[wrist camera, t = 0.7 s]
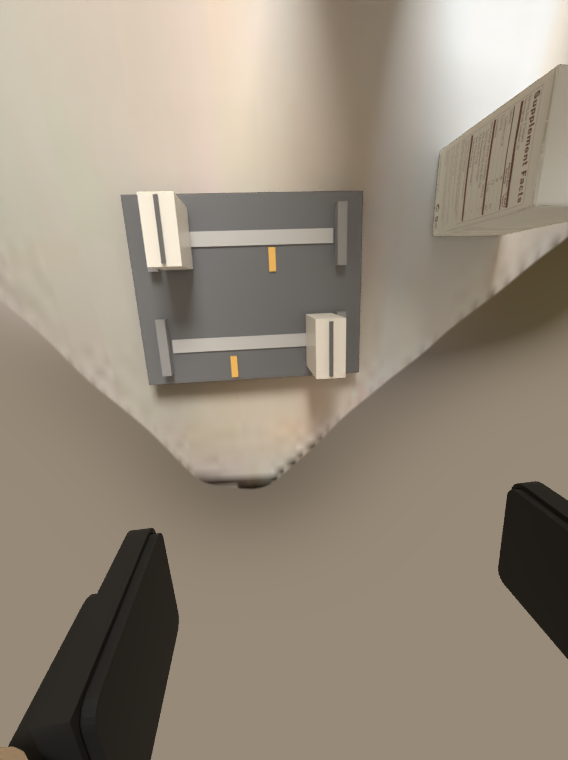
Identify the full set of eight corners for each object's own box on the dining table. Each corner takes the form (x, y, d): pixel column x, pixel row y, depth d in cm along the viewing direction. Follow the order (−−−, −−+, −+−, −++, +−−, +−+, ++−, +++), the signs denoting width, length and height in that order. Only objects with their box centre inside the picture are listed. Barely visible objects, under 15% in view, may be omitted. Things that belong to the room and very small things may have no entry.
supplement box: (514, 150, 31) (682, 64, 19) (501, 237, 33) (645, 209, 21) (437, 148, 31) (560, 57, 18) (428, 237, 32) (534, 208, 20)
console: (129, 200, 29) (115, 191, 26) (355, 196, 31) (366, 187, 28) (155, 379, 34) (146, 388, 31) (352, 367, 35) (361, 374, 32)
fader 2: (305, 314, 31) (316, 319, 26) (331, 312, 31) (346, 318, 26) (306, 365, 32) (316, 380, 27) (331, 363, 32) (346, 378, 27)
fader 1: (156, 208, 28) (135, 191, 23) (186, 207, 28) (172, 190, 23) (164, 270, 29) (146, 267, 24) (193, 269, 29) (181, 265, 24)
